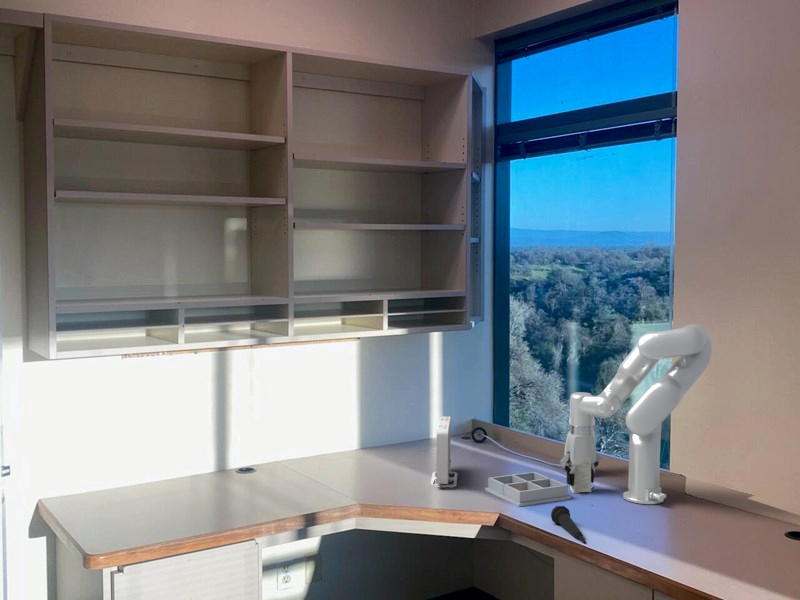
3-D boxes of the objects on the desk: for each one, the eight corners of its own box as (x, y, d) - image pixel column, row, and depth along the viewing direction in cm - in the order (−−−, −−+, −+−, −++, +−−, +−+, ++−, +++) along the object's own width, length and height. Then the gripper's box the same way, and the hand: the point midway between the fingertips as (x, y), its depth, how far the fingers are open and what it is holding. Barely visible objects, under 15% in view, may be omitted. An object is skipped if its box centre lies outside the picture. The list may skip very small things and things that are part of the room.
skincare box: (588, 489, 278) (588, 453, 278) (591, 493, 274) (592, 456, 273) (568, 489, 278) (569, 453, 277) (572, 493, 274) (572, 456, 273)
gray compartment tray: (571, 498, 267) (571, 485, 267) (518, 506, 259) (519, 493, 259) (534, 483, 285) (535, 470, 285) (484, 490, 277) (485, 477, 277)
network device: (433, 470, 303) (434, 415, 301) (457, 470, 302) (458, 416, 301) (429, 489, 277) (429, 430, 276) (455, 490, 276) (456, 430, 275)
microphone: (589, 554, 227) (561, 522, 246) (597, 535, 226) (568, 504, 246) (572, 549, 226) (545, 517, 245) (579, 530, 225) (552, 500, 244)
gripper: (594, 425, 282) (593, 477, 283) (552, 430, 275) (551, 483, 275) (609, 430, 275) (608, 483, 276) (566, 434, 268) (565, 489, 269)
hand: (580, 482), depth 276 cm, fingers closed on skincare box, 7 cm apart
